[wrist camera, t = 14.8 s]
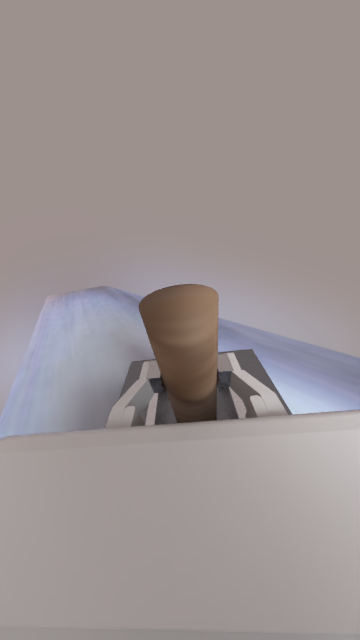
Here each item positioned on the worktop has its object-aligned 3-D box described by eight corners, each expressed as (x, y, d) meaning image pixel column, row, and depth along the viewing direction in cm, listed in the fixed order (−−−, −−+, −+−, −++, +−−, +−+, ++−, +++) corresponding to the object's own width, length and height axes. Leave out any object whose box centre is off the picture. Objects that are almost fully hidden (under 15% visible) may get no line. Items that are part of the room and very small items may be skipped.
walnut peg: (211, 389, 15) (209, 280, 9) (221, 434, 12) (229, 312, 5) (175, 392, 15) (146, 289, 9) (174, 437, 12) (128, 325, 6)
